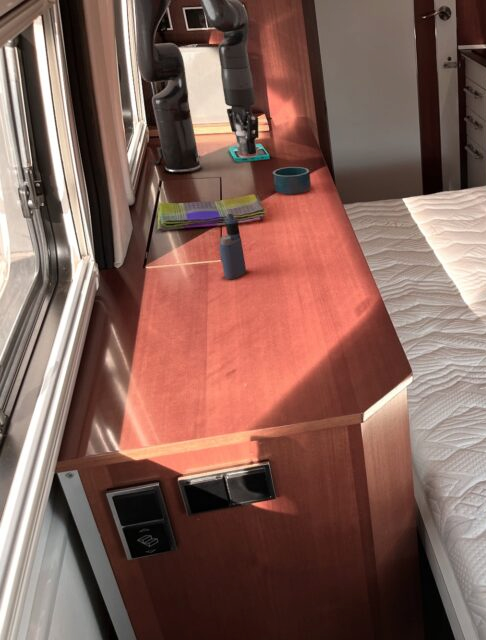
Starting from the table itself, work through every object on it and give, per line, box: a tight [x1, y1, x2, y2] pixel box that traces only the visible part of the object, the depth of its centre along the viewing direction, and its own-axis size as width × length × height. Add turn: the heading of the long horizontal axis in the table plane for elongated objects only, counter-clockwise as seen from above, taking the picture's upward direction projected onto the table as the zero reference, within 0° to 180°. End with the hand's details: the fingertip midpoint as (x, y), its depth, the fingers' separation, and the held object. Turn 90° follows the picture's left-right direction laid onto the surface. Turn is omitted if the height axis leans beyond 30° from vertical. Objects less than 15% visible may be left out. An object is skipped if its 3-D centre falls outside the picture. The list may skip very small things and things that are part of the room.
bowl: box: [272, 166, 312, 196], centre depth 213 cm, size 9×9×5 cm
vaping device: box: [218, 214, 247, 280], centre depth 159 cm, size 3×5×12 cm, turn 161°
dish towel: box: [157, 193, 268, 231], centre depth 194 cm, size 18×24×3 cm
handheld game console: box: [229, 143, 271, 163], centre depth 246 cm, size 10×16×1 cm, turn 24°
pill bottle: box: [235, 124, 257, 158], centre depth 216 cm, size 5×5×8 cm
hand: (247, 151), depth 218 cm, fingers closed on pill bottle, 4 cm apart
